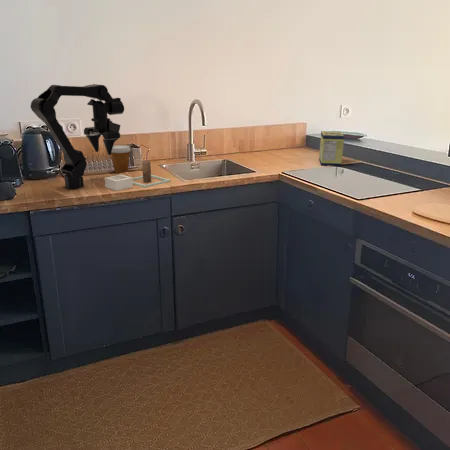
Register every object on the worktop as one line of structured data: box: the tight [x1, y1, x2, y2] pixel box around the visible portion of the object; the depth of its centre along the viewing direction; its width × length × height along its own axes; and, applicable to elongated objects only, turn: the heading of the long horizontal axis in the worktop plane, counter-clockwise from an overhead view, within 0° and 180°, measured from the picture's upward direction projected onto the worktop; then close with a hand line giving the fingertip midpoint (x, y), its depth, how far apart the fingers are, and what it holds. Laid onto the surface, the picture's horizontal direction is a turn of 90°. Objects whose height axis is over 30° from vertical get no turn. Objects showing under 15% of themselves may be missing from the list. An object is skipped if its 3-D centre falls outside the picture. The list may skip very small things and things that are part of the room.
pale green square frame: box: [132, 174, 171, 189], centre depth 205 cm, size 14×14×2 cm
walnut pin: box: [141, 160, 152, 184], centre depth 204 cm, size 4×4×9 cm
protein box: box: [318, 130, 345, 167], centre depth 246 cm, size 10×16×16 cm
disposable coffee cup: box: [110, 144, 131, 174], centre depth 223 cm, size 10×10×12 cm
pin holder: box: [104, 173, 134, 192], centre depth 195 cm, size 8×8×5 cm
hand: (103, 153), depth 202 cm, fingers open, 9 cm apart
